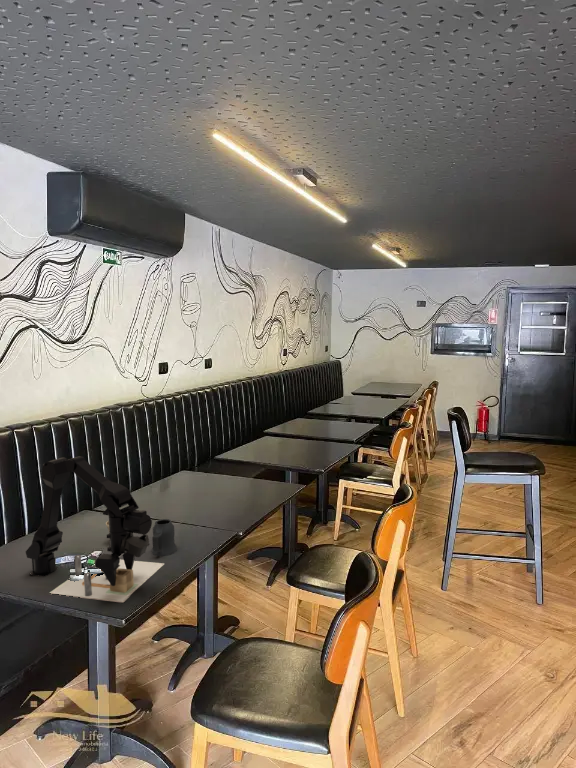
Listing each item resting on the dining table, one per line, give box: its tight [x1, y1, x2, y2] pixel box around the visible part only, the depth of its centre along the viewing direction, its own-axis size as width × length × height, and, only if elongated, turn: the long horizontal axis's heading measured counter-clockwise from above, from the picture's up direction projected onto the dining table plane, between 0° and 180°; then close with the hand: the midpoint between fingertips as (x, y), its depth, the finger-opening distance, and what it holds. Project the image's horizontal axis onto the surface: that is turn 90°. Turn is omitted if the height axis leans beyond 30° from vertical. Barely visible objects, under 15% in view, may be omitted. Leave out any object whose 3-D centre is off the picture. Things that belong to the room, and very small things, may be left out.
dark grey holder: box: [151, 518, 178, 557], centre depth 195 cm, size 12×9×11 cm
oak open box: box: [110, 568, 134, 593], centre depth 169 cm, size 5×5×5 cm
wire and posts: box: [73, 554, 110, 596], centre depth 174 cm, size 10×18×6 cm, turn 31°
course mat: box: [49, 558, 165, 604], centre depth 177 cm, size 25×26×1 cm
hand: (121, 578), depth 169 cm, fingers open, 9 cm apart
